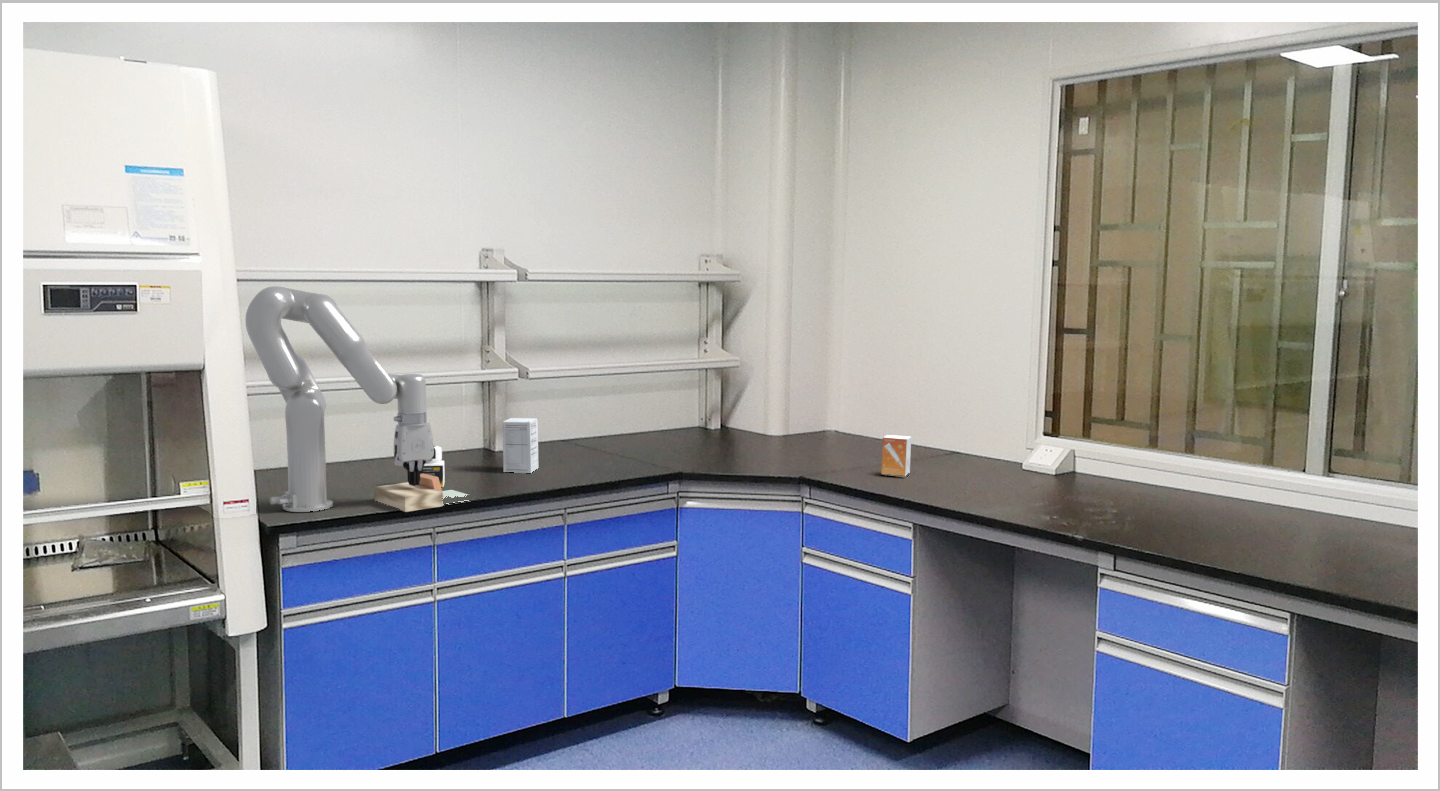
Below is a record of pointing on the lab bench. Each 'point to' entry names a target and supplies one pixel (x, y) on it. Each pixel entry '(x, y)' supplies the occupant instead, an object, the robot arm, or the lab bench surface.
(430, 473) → the medicine bottle
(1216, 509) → the lab bench surface
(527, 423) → the supplement box
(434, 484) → the salmon orange block
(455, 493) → the mat
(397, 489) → the beige wooden block
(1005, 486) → the lab bench surface
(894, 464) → the small box
